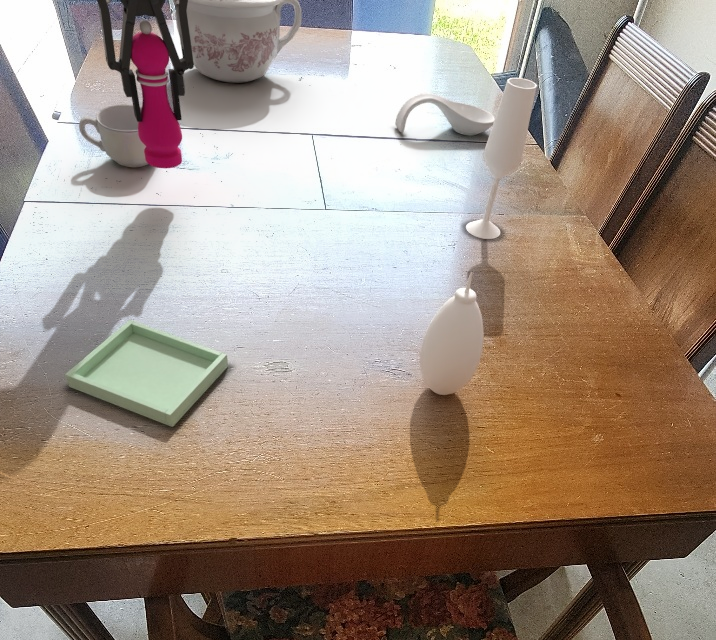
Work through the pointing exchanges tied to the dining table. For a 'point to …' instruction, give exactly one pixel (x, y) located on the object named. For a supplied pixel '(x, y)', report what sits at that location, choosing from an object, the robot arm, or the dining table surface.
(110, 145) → the teacup
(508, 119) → the champagne flute
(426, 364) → the sauce bottle
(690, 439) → the dining table surface
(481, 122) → the spoon rest
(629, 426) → the dining table surface
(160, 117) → the pepper mill
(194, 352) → the tray
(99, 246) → the dining table surface
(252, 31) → the chamber pot
